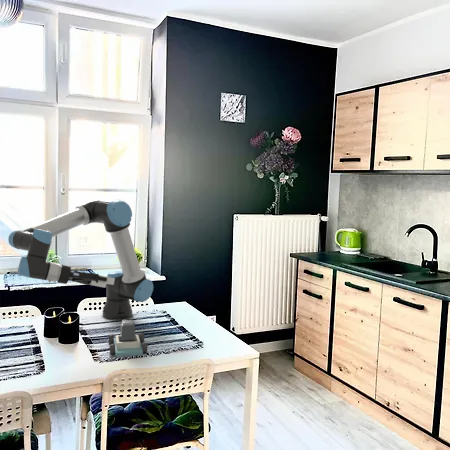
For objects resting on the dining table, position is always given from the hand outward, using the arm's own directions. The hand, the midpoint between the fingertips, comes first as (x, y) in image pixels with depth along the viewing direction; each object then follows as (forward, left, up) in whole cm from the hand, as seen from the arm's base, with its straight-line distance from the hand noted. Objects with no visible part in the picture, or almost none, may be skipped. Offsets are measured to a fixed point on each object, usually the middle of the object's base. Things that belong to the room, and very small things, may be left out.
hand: (110, 283), depth 202 cm
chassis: (+10, -1, -27) cm, 28 cm away
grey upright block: (+10, -1, -25) cm, 27 cm away
